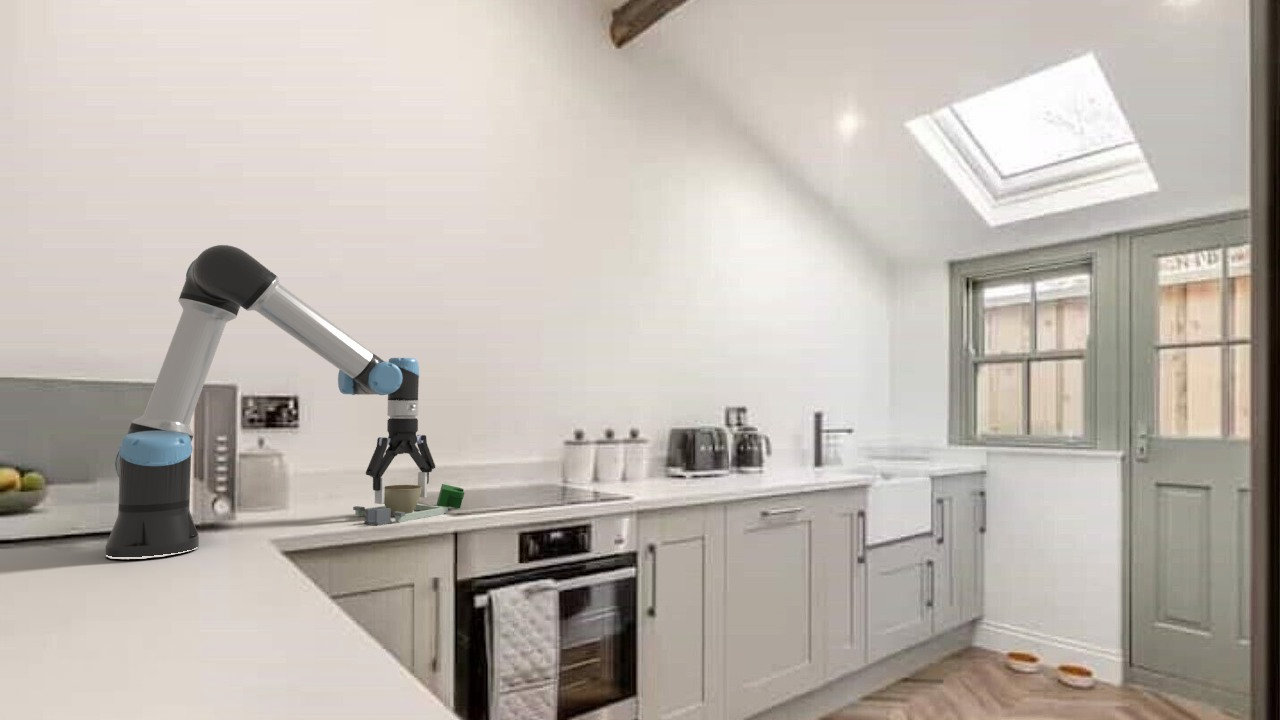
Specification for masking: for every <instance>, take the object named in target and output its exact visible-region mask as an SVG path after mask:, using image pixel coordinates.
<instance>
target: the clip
mask: <svg viewBox="0 0 1280 720" xmlns="http://www.w3.org/2000/svg"><path fill="white" fill-rule="evenodd" d="M375 507H376V508H373V507H368V508H369V509H367V508H365V509H366V515H365V520H363V521H364V522H363V523H364V525H371V524H372V526H377V525H379V526H384V525H389V524H392V523H393V520H392V519H391V517H392V516H391V508H385V509H382V507H379V506H375ZM388 523H389V524H388ZM383 524H384V525H383Z"/></svg>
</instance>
